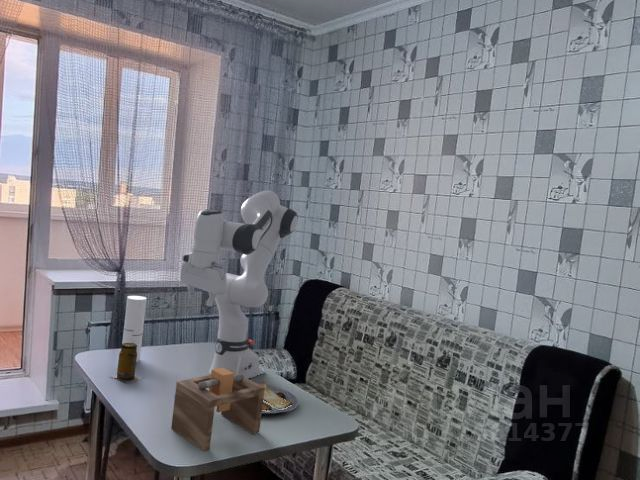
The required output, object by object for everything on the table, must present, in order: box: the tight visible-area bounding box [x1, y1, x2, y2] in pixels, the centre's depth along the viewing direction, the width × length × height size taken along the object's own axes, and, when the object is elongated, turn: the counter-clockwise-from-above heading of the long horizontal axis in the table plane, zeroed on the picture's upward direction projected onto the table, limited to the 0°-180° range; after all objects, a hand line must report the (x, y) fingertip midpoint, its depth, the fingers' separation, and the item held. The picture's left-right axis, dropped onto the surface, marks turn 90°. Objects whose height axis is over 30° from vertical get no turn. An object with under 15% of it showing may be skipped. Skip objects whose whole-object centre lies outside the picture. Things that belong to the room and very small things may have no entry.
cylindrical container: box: [121, 295, 147, 363], centre depth 197 cm, size 7×7×25 cm
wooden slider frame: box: [170, 371, 265, 452], centre depth 147 cm, size 20×16×16 cm
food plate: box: [258, 381, 299, 414], centre depth 173 cm, size 25×23×4 cm
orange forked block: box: [208, 367, 234, 413], centre depth 147 cm, size 4×6×11 cm
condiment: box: [110, 343, 143, 384], centre depth 179 cm, size 7×8×12 cm
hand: (200, 302), depth 161 cm, fingers open, 8 cm apart
